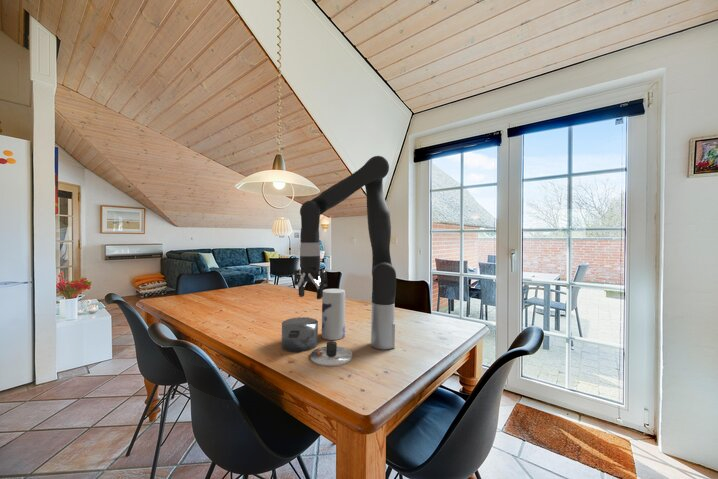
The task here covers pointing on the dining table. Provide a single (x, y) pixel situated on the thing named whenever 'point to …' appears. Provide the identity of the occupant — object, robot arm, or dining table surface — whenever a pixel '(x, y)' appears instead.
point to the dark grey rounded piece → (299, 334)
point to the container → (333, 314)
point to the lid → (331, 355)
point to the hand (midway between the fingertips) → (310, 297)
